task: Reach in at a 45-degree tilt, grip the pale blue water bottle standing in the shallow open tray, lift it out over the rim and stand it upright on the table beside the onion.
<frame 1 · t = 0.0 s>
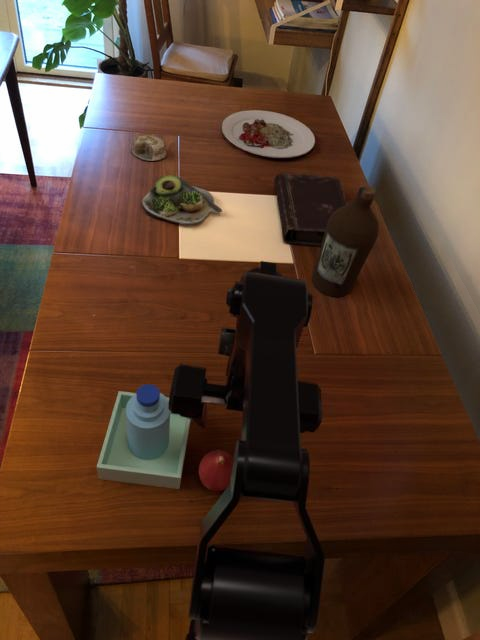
hand: (237, 430, 66), 14 cm above the table, tool pointing down, fingers open, 9 cm apart
avocado toast plate: (177, 205, 122), on the table
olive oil: (331, 283, 110), on the table
shallow open tray: (148, 446, 77), on the table
water bottle: (148, 441, 76), point 1 cm above the table, touching shallow open tray
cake: (149, 153, 137), on the table
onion: (215, 481, 75), on the table
plated food: (267, 138, 153), on the table
diary: (311, 217, 126), on the table
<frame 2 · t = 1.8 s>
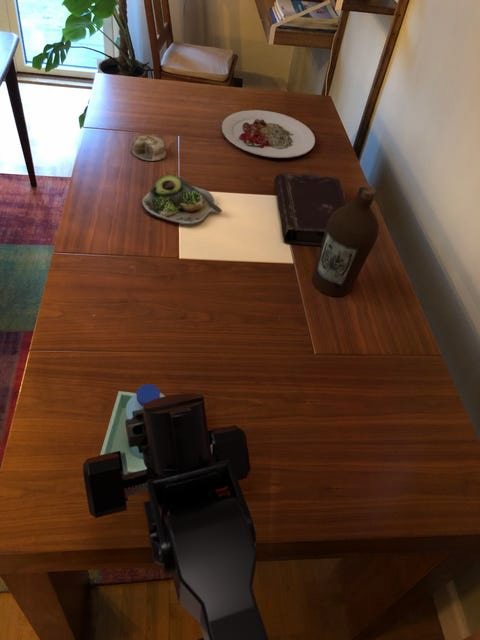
hand: (159, 447, 63), 13 cm above the table, tool tilted 45°, fingers open, 9 cm apart
nothing on the table moved.
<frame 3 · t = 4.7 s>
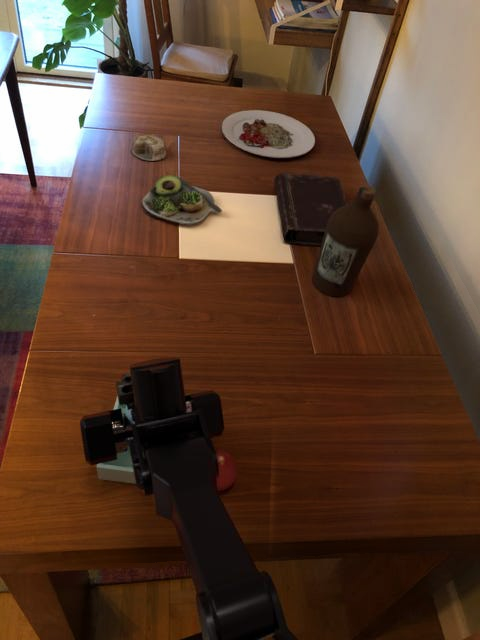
hand: (146, 411, 72), 8 cm above the table, tool tilted 45°, fingers closed on water bottle, 6 cm apart
water bottle: (148, 441, 76), point 1 cm above the table, touching shallow open tray, gripper
everything else where it was.
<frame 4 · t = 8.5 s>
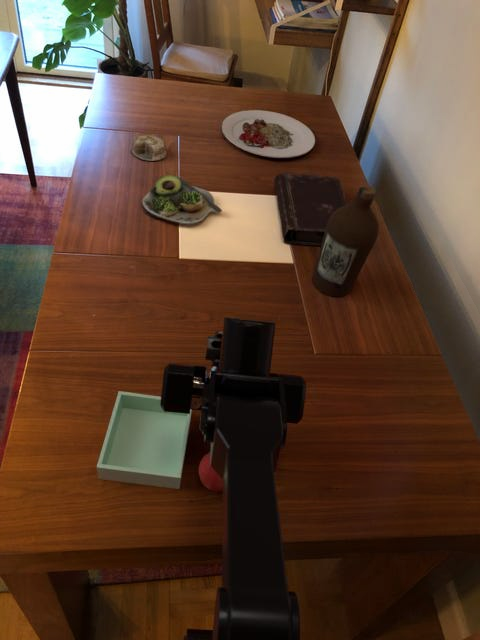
hand: (229, 382, 71), 13 cm above the table, tool tilted 45°, fingers closed on water bottle, 6 cm apart
water bottle: (224, 414, 75), point 6 cm above the table, touching gripper
everything else where it was.
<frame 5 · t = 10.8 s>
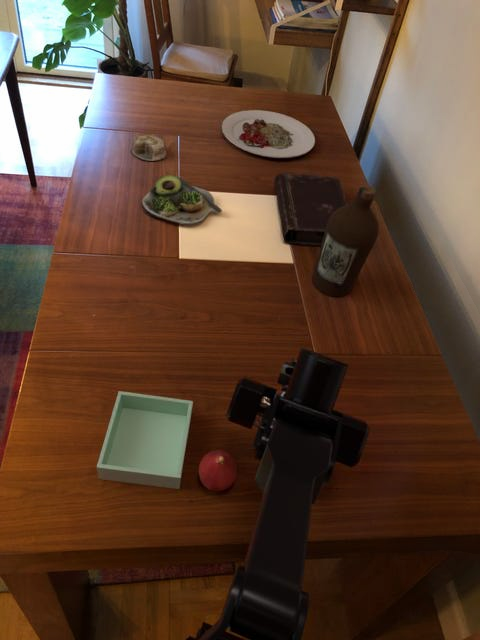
hand: (297, 410, 73), 10 cm above the table, tool tilted 45°, fingers closed on water bottle, 6 cm apart
water bottle: (285, 439, 77), point 3 cm above the table, touching gripper
everything else where it was.
when the fingers open (7 cm above the table, at t = 12.3 s): water bottle stays where it is, on the table.
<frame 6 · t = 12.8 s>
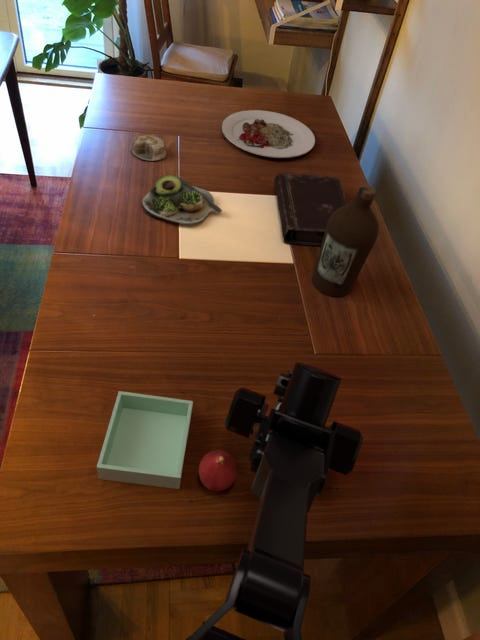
hand: (293, 417, 75), 7 cm above the table, tool tilted 45°, fingers open, 9 cm apart
water bottle: (281, 447, 80), on the table
everything else where it was.
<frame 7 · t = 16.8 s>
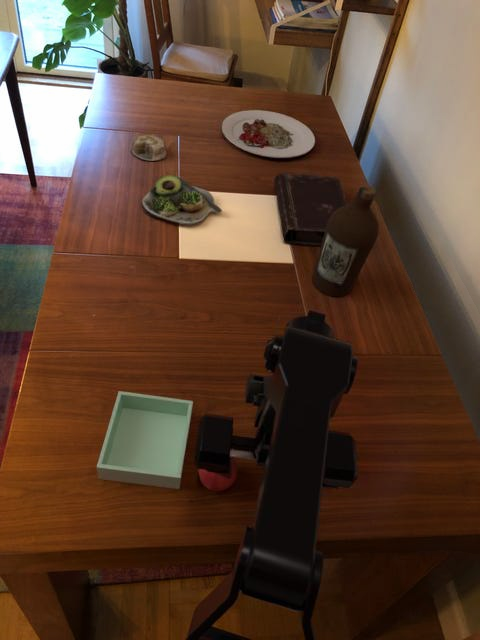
hand: (263, 479, 62), 13 cm above the table, tool pointing down, fingers open, 9 cm apart
nothing on the table moved.
at the end: water bottle inside the target area on the table beside the shallow open tray (0.4 cm from its centre), on the table; water bottle tilted 0°; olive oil tilted 0° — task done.
